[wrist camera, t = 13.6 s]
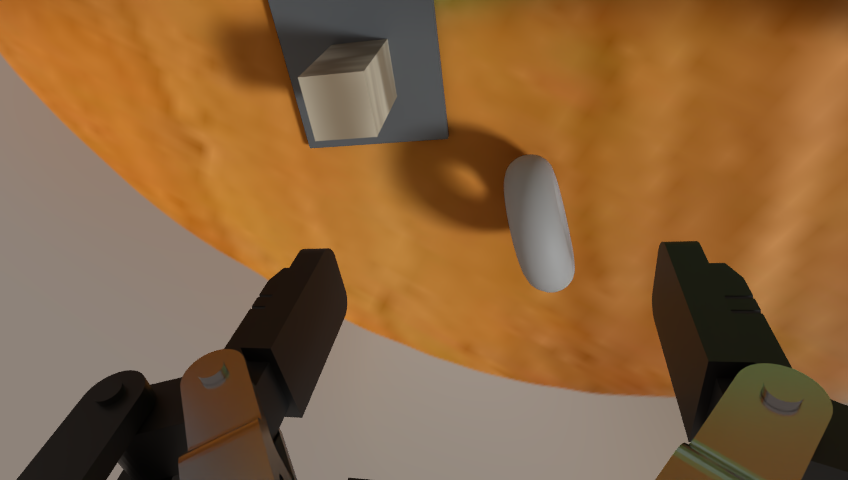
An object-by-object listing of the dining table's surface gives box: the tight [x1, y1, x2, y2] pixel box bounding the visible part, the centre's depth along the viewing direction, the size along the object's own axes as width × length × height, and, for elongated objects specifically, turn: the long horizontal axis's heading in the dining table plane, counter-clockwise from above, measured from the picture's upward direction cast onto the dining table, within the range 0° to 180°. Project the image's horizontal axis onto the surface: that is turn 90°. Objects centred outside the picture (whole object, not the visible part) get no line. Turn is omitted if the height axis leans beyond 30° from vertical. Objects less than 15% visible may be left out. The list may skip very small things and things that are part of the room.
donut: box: [504, 155, 575, 292], centre depth 36 cm, size 10×4×10 cm, turn 21°
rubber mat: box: [268, 0, 449, 148], centre depth 36 cm, size 11×11×1 cm
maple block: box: [298, 39, 397, 141], centre depth 33 cm, size 4×4×7 cm
